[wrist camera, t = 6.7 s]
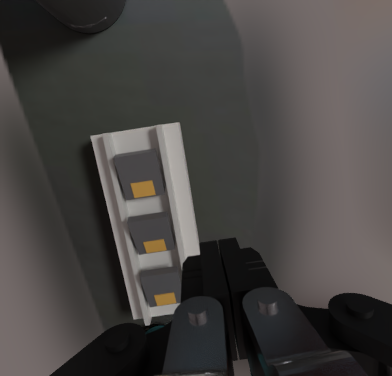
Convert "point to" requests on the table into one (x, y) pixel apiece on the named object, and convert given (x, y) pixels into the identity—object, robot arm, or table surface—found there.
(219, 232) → the table surface
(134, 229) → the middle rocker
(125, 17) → the table surface
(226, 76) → the table surface
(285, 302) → the robot arm
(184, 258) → the power strip
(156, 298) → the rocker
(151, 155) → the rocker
